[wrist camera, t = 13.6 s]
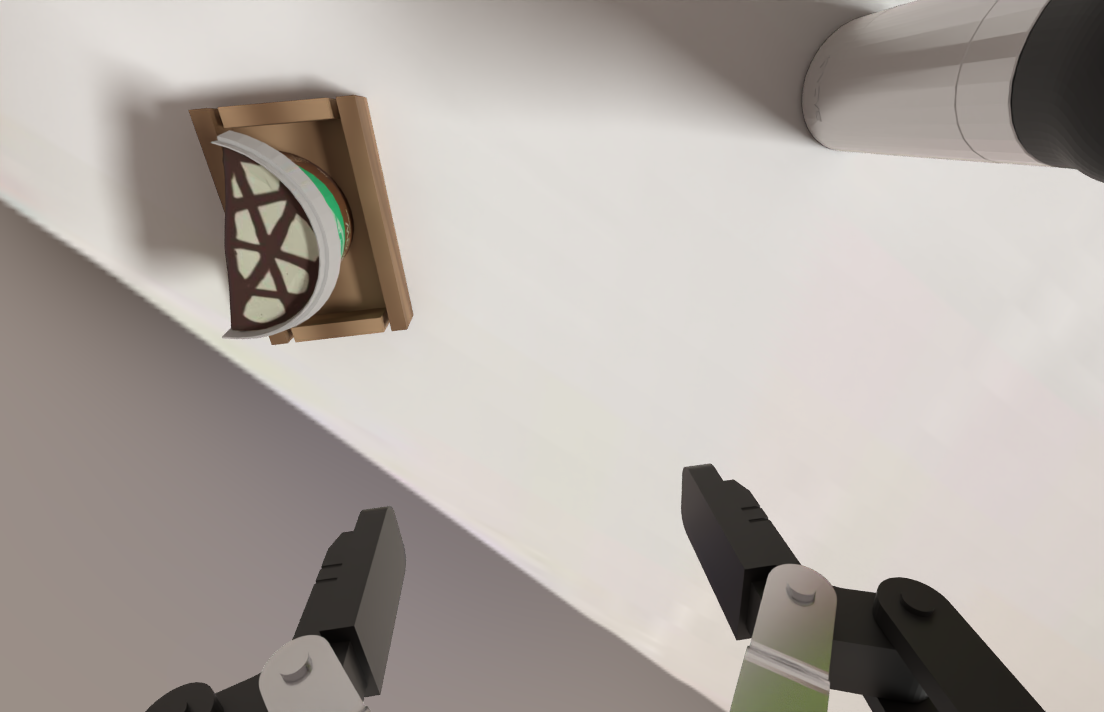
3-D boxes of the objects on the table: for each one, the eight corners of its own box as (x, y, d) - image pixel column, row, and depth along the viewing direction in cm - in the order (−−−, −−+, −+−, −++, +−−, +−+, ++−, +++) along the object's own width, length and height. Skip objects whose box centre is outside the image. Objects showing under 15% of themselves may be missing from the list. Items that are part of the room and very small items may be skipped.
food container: (364, 308, 41) (327, 360, 32) (284, 295, 40) (222, 346, 31) (375, 148, 36) (335, 156, 27) (284, 129, 35) (210, 130, 26)
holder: (366, 97, 35) (354, 95, 32) (413, 314, 42) (407, 329, 39) (214, 111, 35) (188, 109, 32) (287, 329, 42) (271, 345, 39)
